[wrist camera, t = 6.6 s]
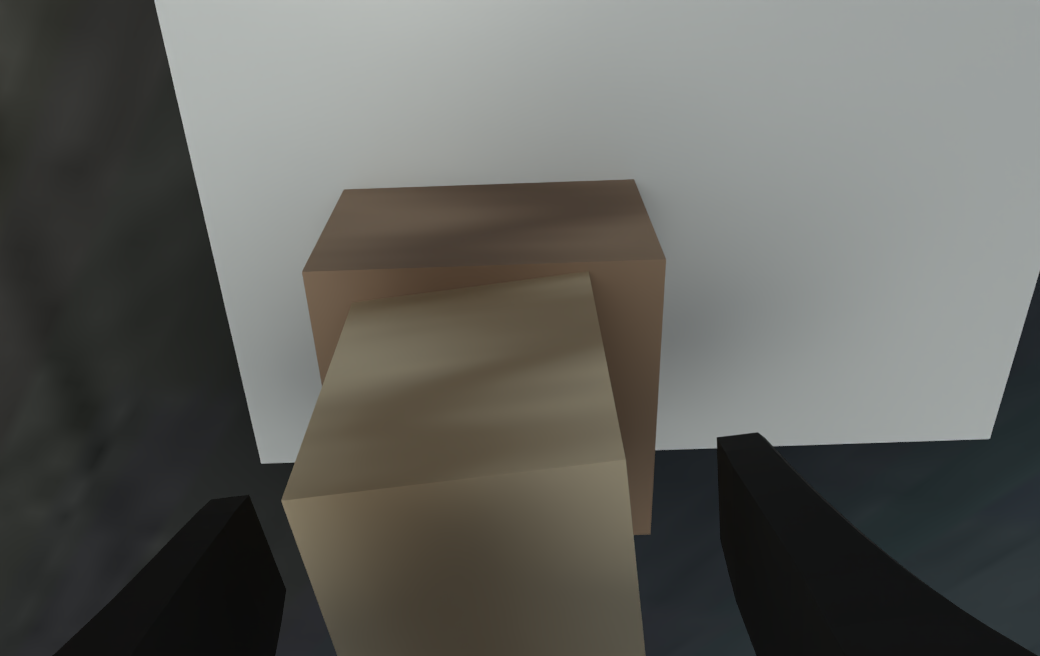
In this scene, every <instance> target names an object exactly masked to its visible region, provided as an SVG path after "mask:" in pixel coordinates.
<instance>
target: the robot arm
mask: <svg viewBox="0 0 1040 656" xmlns="http://www.w3.org/2000/svg"><path fill="white" fill-rule="evenodd" d="M717 459H718V486H719V512H720V539H721V544H722V548H723V552H724V556H725V560H726V564H727V568H728V572H729V576H730V580H731V583H732V587H733V591H734V595H735V599H736V602H737V605H738V608H739V610H740V613H741V616H742V618H743V621H744V624H745V626H746V629H747V632H748V634H749V637H750V639H751V642H752V645H753V647H754V650H755V653H756V655H757V656H1037V655H1035V654H1034V653H1032V652H1030V651H1029V650H1027V649H1025V648H1024V647H1022V646H1020V645H1019V644H1017V643H1015V642H1014V641H1012V640H1010V639H1008V638H1007V637H1005V636H1003V635H1002V634H1000V633H998V632H997V631H995V630H993V629H992V628H990V627H988V626H987V625H985V624H984V623H982V622H980V621H979V620H977V619H976V618H974V617H973V616H971V615H969V614H968V613H966V612H965V611H963V610H962V609H960V608H959V607H957V606H956V605H955V604H953V603H952V602H950V601H949V600H947V599H946V598H945V597H943V596H942V595H940V594H939V593H938V592H936V591H935V590H933V589H932V588H930V587H929V586H928V585H926V584H925V583H924V582H922V581H921V580H920V579H918V578H917V577H916V576H914V575H913V574H912V573H910V572H909V571H908V570H907V569H905V568H904V567H903V566H901V565H900V564H899V563H898V562H896V561H895V560H894V559H893V558H892V557H890V556H889V555H888V554H887V553H885V552H884V551H883V550H882V549H881V548H879V547H878V546H877V545H876V544H874V543H873V542H872V541H871V540H870V539H869V538H867V537H866V536H865V535H864V534H863V533H862V532H860V531H859V530H858V529H857V528H856V527H855V526H854V525H852V524H851V523H850V522H849V521H848V520H847V519H846V518H845V517H844V516H843V515H842V514H840V513H839V512H838V511H837V510H836V509H835V508H834V507H833V506H832V505H831V504H830V503H828V502H827V501H826V500H825V499H824V498H823V497H822V496H821V495H820V494H819V493H818V492H817V491H816V490H815V489H814V488H813V487H812V486H811V485H810V484H809V483H808V482H807V481H806V480H805V479H804V478H803V477H802V476H801V475H800V474H799V473H798V472H797V471H796V470H795V469H794V468H793V467H792V466H791V465H790V464H789V463H788V462H787V461H786V460H785V459H784V458H783V457H782V456H781V455H780V453H779V452H778V451H777V450H776V449H775V448H774V447H773V446H772V445H771V444H770V443H769V442H768V440H767V439H766V438H765V437H763V436H762V435H761V434H759V433H758V432H756V433H748V434H740V435H731V436H723V437H717ZM285 594H286V588H285V586H284V583H283V581H282V578H281V576H280V573H279V571H278V568H277V565H276V563H275V560H274V558H273V555H272V553H271V550H270V548H269V545H268V542H267V540H266V537H265V535H264V532H263V530H262V527H261V524H260V522H259V519H258V517H257V514H256V512H255V509H254V507H253V504H252V501H251V499H250V496H249V495H245V496H237V497H229V498H221V499H212V500H210V501H209V502H208V503H207V504H206V505H205V506H204V507H203V508H202V509H201V510H200V511H199V512H198V513H196V514H195V515H194V516H193V517H192V518H191V520H190V521H189V522H188V523H187V524H186V525H185V526H184V527H183V528H182V529H181V530H180V531H179V532H178V533H177V534H176V535H175V536H174V537H173V538H172V539H171V540H170V541H169V542H168V543H167V544H166V545H165V546H164V547H163V548H162V549H161V550H160V552H159V553H158V554H157V555H156V556H155V557H154V558H153V559H152V560H151V561H150V562H149V563H148V564H147V565H146V566H145V567H144V568H143V569H142V570H141V571H140V572H139V573H138V574H137V575H136V576H135V577H134V578H133V579H132V580H131V581H130V582H129V583H128V584H127V585H126V586H125V587H124V588H123V589H122V590H121V591H120V592H119V593H118V594H117V595H116V596H115V597H114V598H113V599H112V600H111V601H110V602H109V603H108V604H107V605H106V606H105V607H104V608H103V609H102V610H101V611H100V612H99V613H98V614H97V615H96V616H94V617H93V618H92V619H91V620H90V621H89V622H88V623H87V624H86V625H85V626H84V627H83V628H82V629H81V630H80V631H79V632H78V633H76V634H75V635H74V636H73V637H72V638H71V639H70V640H69V641H68V642H67V643H66V644H65V645H64V646H63V647H62V648H61V649H60V650H58V651H57V652H56V653H55V654H54V655H53V656H275V653H276V648H277V643H278V638H279V632H280V627H281V620H282V614H283V607H284V601H285Z"/></svg>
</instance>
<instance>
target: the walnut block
mask: <svg viewBox="0 0 1040 656" xmlns="http://www.w3.org/2000/svg"><path fill="white" fill-rule="evenodd" d="M665 270H666V258H665V255H664V253H663V250H662V248H661V245H660V243H659V240H658V238H657V235H656V233H655V230H654V228H653V225H652V223H651V220H650V218H649V215H648V213H647V210H646V208H645V205H644V203H643V200H642V198H641V195H640V193H639V190H638V188H637V185H636V183H635V180H634V179H626V180H598V181H569V182H541V183H513V184H484V185H456V186H427V187H399V188H370V189H344V190H343V192H342V194H341V196H340V198H339V200H338V202H337V204H336V206H335V208H334V210H333V212H332V214H331V216H330V218H329V219H328V221H327V223H326V225H325V227H324V229H323V231H322V233H321V235H320V237H319V239H318V241H317V243H316V245H315V247H314V249H313V251H312V253H311V255H310V257H309V259H308V261H307V263H306V265H305V267H304V269H303V271H302V276H303V281H304V287H305V293H306V298H307V304H308V310H309V315H310V321H311V327H312V332H313V338H314V344H315V350H316V355H317V361H318V367H319V372H320V378H321V384H322V385H323V383H324V380H325V377H326V374H327V371H328V369H329V366H330V363H331V360H332V358H333V355H334V352H335V349H336V346H337V344H338V341H339V338H340V335H341V332H342V330H343V327H344V324H345V321H346V318H347V316H348V313H349V310H350V307H351V304H352V303H354V302H362V301H369V300H377V299H384V298H392V297H399V296H407V295H414V294H422V293H430V292H437V291H445V290H452V289H460V288H467V287H475V286H482V285H490V284H497V283H505V282H512V281H520V280H527V279H535V278H542V277H550V276H557V275H565V274H572V273H580V272H588V271H589V276H590V281H591V286H592V291H593V296H594V301H595V306H596V311H597V316H598V321H599V326H600V331H601V337H602V342H603V347H604V352H605V357H606V362H607V367H608V372H609V377H610V382H611V387H612V392H613V397H614V402H615V407H616V412H617V417H618V423H619V428H620V433H621V438H622V443H623V448H624V453H625V458H626V466H627V476H628V486H629V496H630V506H631V516H632V526H633V535H646V534H650V530H651V513H652V496H653V478H654V461H655V444H656V426H657V409H658V391H659V374H660V357H661V339H662V322H663V305H664V287H665Z"/></svg>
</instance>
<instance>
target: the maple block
mask: <svg viewBox="0 0 1040 656" xmlns="http://www.w3.org/2000/svg"><path fill="white" fill-rule="evenodd" d="M281 502H282V504H283V507H284V510H285V513H286V515H287V518H288V521H289V524H290V526H291V529H292V532H293V535H294V537H295V540H296V543H297V546H298V548H299V551H300V554H301V557H302V559H303V562H304V565H305V568H306V570H307V573H308V576H309V579H310V581H311V584H312V587H313V590H314V592H315V595H316V598H317V601H318V603H319V606H320V609H321V612H322V614H323V617H324V620H325V623H326V625H327V628H328V631H329V634H330V636H331V639H332V642H333V645H334V647H335V650H336V653H337V656H645V646H644V636H643V626H642V616H641V606H640V596H639V586H638V576H637V566H636V556H635V546H634V536H633V526H632V516H631V506H630V496H629V486H628V476H627V466H626V458H625V453H624V448H623V443H622V438H621V433H620V428H619V423H618V417H617V412H616V407H615V402H614V397H613V392H612V387H611V382H610V377H609V372H608V367H607V362H606V357H605V352H604V347H603V342H602V337H601V331H600V326H599V321H598V316H597V311H596V306H595V301H594V296H593V291H592V286H591V281H590V276H589V271H588V272H580V273H572V274H565V275H557V276H550V277H542V278H535V279H527V280H520V281H512V282H505V283H497V284H490V285H482V286H475V287H467V288H460V289H452V290H445V291H437V292H430V293H422V294H414V295H407V296H399V297H392V298H384V299H377V300H369V301H362V302H354V303H352V304H351V307H350V310H349V313H348V316H347V318H346V321H345V324H344V327H343V330H342V332H341V335H340V338H339V341H338V344H337V346H336V349H335V352H334V355H333V358H332V360H331V363H330V366H329V369H328V371H327V374H326V377H325V380H324V383H323V385H322V388H321V391H320V394H319V397H318V399H317V402H316V405H315V408H314V411H313V413H312V416H311V419H310V422H309V425H308V427H307V430H306V433H305V436H304V439H303V441H302V444H301V447H300V450H299V453H298V455H297V458H296V461H295V464H294V466H293V469H292V472H291V475H290V478H289V480H288V483H287V486H286V489H285V492H284V494H283V497H282V500H281Z"/></svg>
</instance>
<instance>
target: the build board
mask: <svg viewBox="0 0 1040 656" xmlns="http://www.w3.org/2000/svg"><path fill="white" fill-rule="evenodd" d="M154 1H155V5H156V10H157V14H158V18H159V23H160V27H161V31H162V36H163V40H164V44H165V49H166V53H167V57H168V62H169V66H170V70H171V75H172V79H173V83H174V88H175V92H176V96H177V101H178V105H179V109H180V114H181V118H182V122H183V127H184V131H185V135H186V140H187V144H188V148H189V153H190V157H191V161H192V166H193V170H194V174H195V179H196V183H197V187H198V192H199V196H200V200H201V205H202V209H203V213H204V218H205V222H206V226H207V231H208V235H209V239H210V244H211V248H212V252H213V257H214V261H215V265H216V270H217V274H218V278H219V283H220V287H221V291H222V296H223V300H224V304H225V309H226V313H227V317H228V322H229V326H230V330H231V335H232V339H233V343H234V348H235V352H236V356H237V361H238V365H239V369H240V374H241V378H242V382H243V387H244V391H245V395H246V400H247V404H248V408H249V413H250V417H251V422H252V426H253V430H254V435H255V439H256V443H257V448H258V452H259V456H260V461H261V464H262V463H292V462H295V461H296V458H297V455H298V453H299V450H300V447H301V444H302V441H303V439H304V436H305V433H306V430H307V427H308V425H309V422H310V419H311V416H312V413H313V411H314V408H315V405H316V402H317V399H318V397H319V394H320V391H321V388H322V384H321V378H320V372H319V367H318V361H317V355H316V350H315V344H314V338H313V332H312V327H311V321H310V315H309V310H308V304H307V298H306V293H305V287H304V281H303V276H302V271H303V269H304V267H305V265H306V263H307V261H308V259H309V257H310V255H311V253H312V251H313V249H314V247H315V245H316V243H317V241H318V239H319V237H320V235H321V233H322V231H323V229H324V227H325V225H326V223H327V221H328V219H329V218H330V216H331V214H332V212H333V210H334V208H335V206H336V204H337V202H338V200H339V198H340V196H341V194H342V192H343V190H344V189H370V188H399V187H427V186H456V185H484V184H513V183H541V182H569V181H598V180H626V179H634V180H635V183H636V185H637V188H638V190H639V193H640V195H641V198H642V200H643V203H644V205H645V208H646V210H647V213H648V215H649V218H650V220H651V223H652V225H653V228H654V230H655V233H656V235H657V238H658V240H659V243H660V245H661V248H662V250H663V253H664V255H665V258H666V270H665V287H664V305H663V322H662V339H661V357H660V374H659V391H658V409H657V426H656V444H655V450H676V449H706V448H717V437H723V436H731V435H740V434H748V433H756V432H758V433H759V434H761V435H762V436H763V437H765V438H766V439H767V440H768V442H769V443H770V444H771V445H772V446H795V445H824V444H854V443H884V442H913V441H943V440H972V439H990V436H991V433H992V430H993V426H994V423H995V420H996V416H997V413H998V409H999V406H1000V403H1001V399H1002V396H1003V393H1004V389H1005V386H1006V383H1007V379H1008V376H1009V372H1010V369H1011V366H1012V362H1013V359H1014V356H1015V352H1016V349H1017V346H1018V342H1019V339H1020V335H1021V332H1022V329H1023V325H1024V322H1025V319H1026V315H1027V312H1028V308H1029V305H1030V302H1031V298H1032V295H1033V292H1034V288H1035V285H1036V282H1037V278H1038V275H1039V271H1040V0H154Z"/></svg>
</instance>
